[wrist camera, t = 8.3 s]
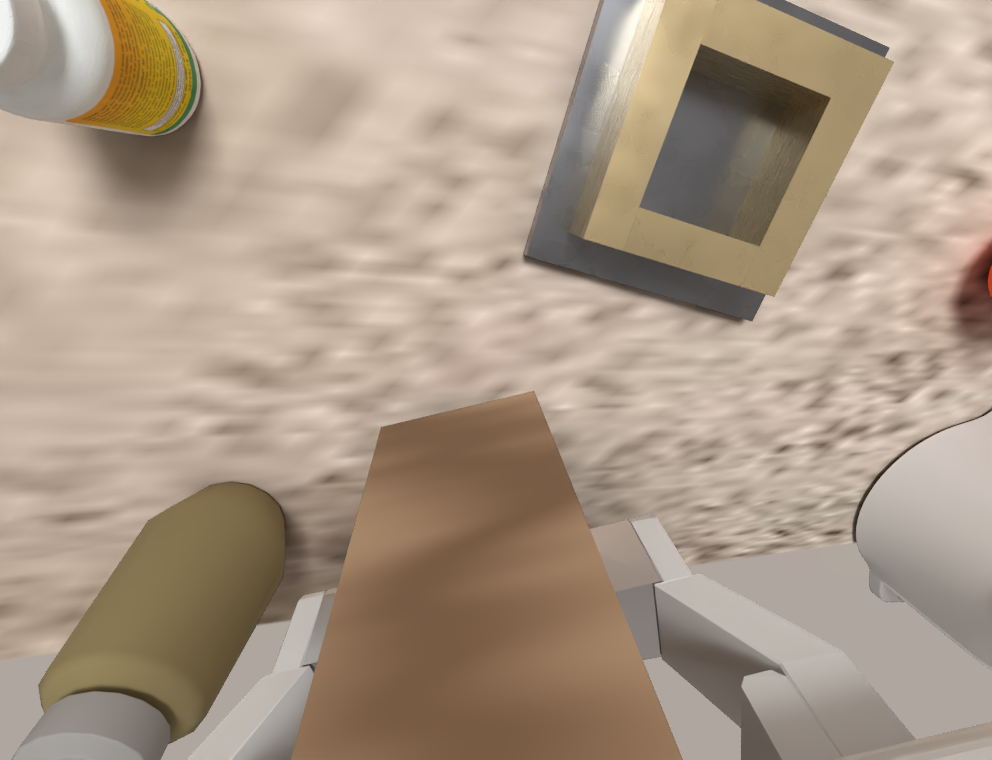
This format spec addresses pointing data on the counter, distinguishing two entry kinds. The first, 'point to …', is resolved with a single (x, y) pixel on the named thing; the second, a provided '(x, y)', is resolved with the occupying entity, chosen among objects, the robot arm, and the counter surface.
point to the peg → (477, 609)
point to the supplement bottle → (96, 65)
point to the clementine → (990, 281)
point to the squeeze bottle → (163, 630)
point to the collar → (702, 145)
